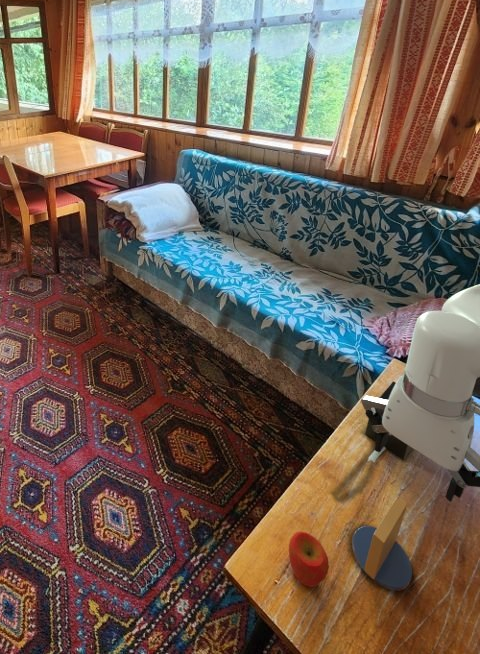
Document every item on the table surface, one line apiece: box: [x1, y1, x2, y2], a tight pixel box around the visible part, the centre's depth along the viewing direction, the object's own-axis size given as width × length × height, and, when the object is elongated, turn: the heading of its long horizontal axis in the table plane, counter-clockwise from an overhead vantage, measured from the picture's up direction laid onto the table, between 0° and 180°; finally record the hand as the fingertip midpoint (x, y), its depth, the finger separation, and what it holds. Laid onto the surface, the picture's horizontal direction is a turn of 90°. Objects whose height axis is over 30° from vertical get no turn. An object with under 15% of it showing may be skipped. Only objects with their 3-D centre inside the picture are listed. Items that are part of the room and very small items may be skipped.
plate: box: [351, 525, 413, 592], centre depth 68 cm, size 9×9×1 cm
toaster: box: [364, 381, 413, 461], centre depth 88 cm, size 13×8×9 cm, turn 125°
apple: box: [288, 530, 330, 588], centre depth 66 cm, size 6×6×8 cm
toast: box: [363, 496, 408, 579], centre depth 66 cm, size 10×2×10 cm, turn 125°
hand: (413, 468), depth 60 cm, fingers open, 9 cm apart
